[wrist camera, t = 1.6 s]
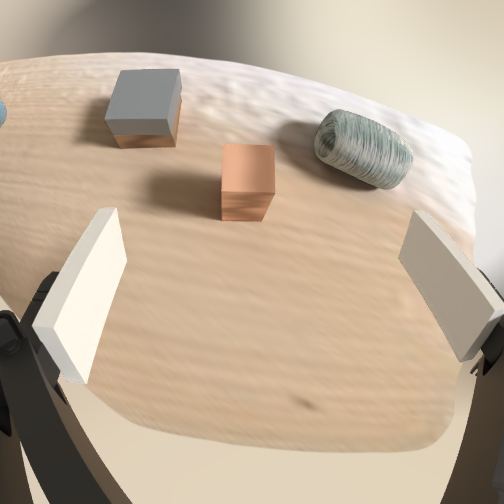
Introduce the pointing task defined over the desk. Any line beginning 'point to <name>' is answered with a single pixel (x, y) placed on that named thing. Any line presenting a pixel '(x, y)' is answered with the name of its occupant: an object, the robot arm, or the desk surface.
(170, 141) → the bottom slab
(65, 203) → the desk surface
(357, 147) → the spool
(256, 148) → the tall block
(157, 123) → the top slab
